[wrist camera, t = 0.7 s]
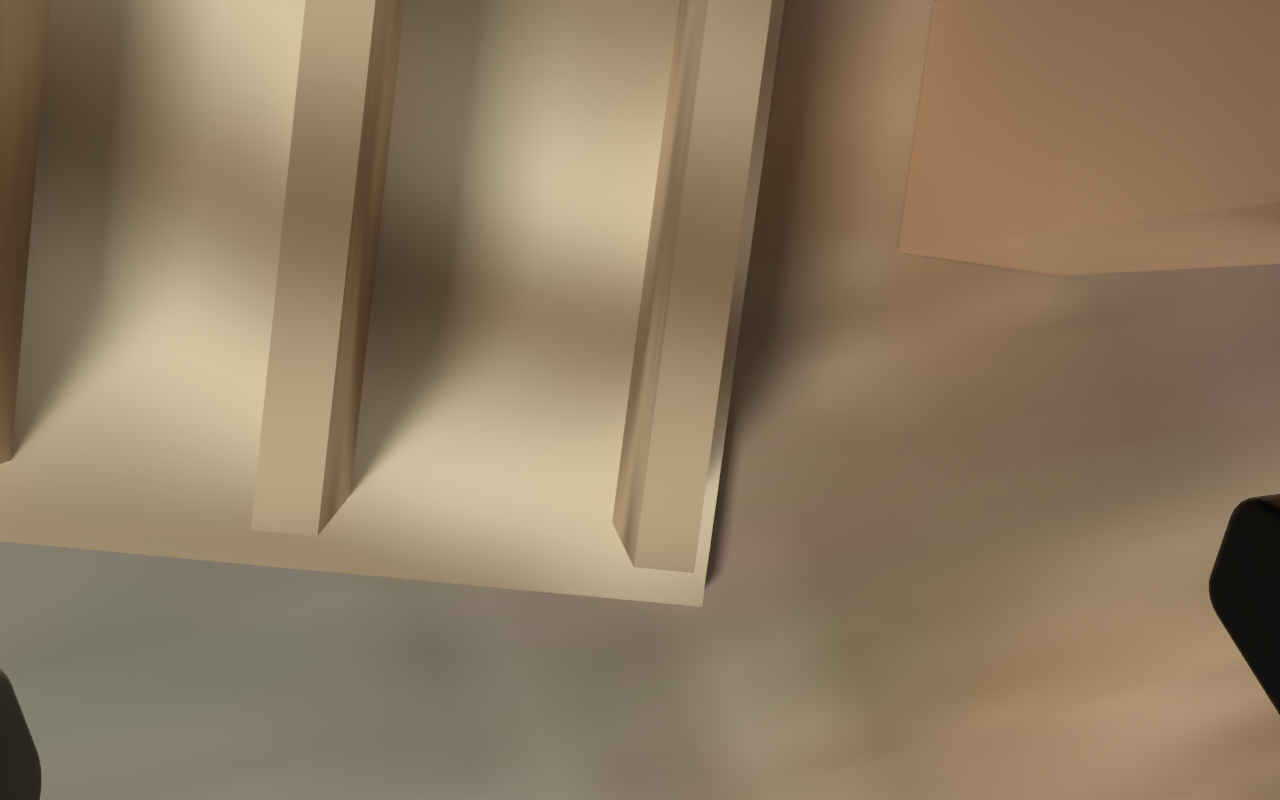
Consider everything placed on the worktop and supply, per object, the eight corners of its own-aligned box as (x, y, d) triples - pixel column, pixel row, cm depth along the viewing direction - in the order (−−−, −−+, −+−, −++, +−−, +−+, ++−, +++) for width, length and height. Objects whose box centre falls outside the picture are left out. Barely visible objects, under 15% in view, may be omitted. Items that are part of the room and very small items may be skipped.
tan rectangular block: (1096, 30, 21) (1976, -376, 9) (1057, 275, 22) (1845, 235, 9) (934, 2, 21) (1611, -474, 8) (897, 251, 21) (1489, 174, 8)
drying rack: (696, 598, 21) (740, 667, 17) (-463, 488, 19) (-733, 540, 15) (785, -52, 20) (854, -139, 16) (-424, -274, 18) (-702, -445, 14)
